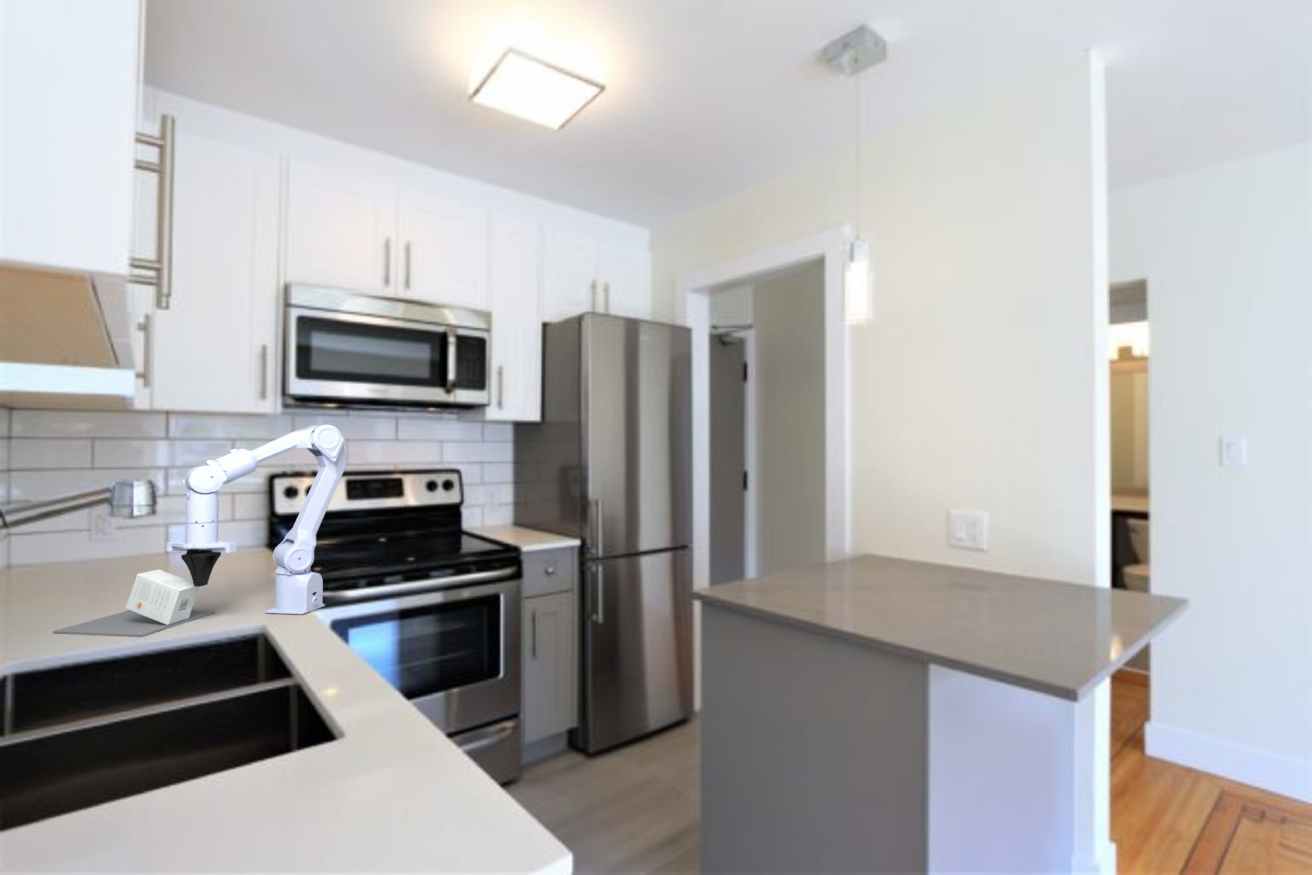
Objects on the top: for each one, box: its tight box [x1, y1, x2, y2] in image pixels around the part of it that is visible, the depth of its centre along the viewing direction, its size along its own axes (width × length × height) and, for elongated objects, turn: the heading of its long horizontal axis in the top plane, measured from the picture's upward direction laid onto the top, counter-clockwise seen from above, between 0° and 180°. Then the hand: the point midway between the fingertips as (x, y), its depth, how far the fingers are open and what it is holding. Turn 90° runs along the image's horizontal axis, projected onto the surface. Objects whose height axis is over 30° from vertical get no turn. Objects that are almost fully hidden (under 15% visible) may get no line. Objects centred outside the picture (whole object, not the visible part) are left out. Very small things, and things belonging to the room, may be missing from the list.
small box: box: [124, 569, 200, 625], centre depth 134 cm, size 8×6×10 cm
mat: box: [52, 610, 216, 638], centre depth 135 cm, size 20×18×1 cm
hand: (200, 585), depth 133 cm, fingers closed
